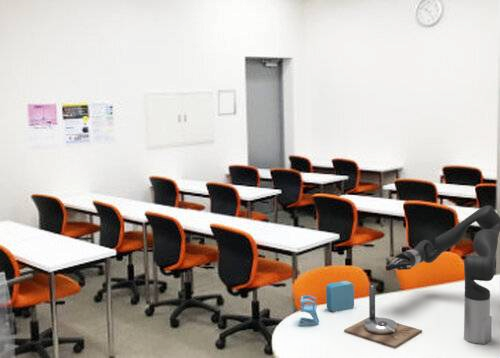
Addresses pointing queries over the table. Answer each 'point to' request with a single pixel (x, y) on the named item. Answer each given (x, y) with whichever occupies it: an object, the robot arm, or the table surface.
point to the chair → (309, 311)
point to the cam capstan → (378, 323)
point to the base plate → (389, 340)
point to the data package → (340, 296)
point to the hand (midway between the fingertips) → (387, 268)
